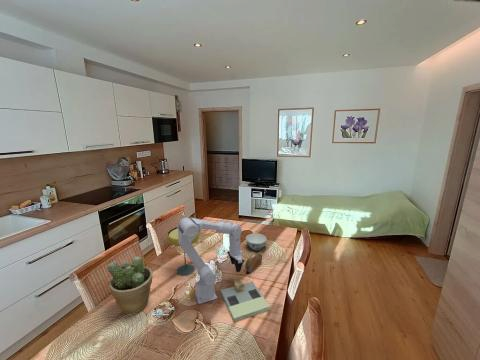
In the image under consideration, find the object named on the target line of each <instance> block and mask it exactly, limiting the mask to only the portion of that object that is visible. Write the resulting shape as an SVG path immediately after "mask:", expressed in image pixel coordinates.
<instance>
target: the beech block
mask: <svg viewBox="0 0 480 360" xmlns="http://www.w3.org/2000/svg"><path fill="white" fill-rule="evenodd" d="M233 282H234V285H233V287H234V288H235V290H236V292H237V293H238V292H242V291H244V284H245V282H244V281H243V280H242V279H237V280H234V281H233Z"/></svg>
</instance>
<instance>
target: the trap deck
mask: <svg viewBox="0 0 480 360" xmlns="http://www.w3.org/2000/svg"><path fill="white" fill-rule="evenodd" d="M220 294H221V297H222V299H223V301H224V303H225V306H226V307H227V309H228V312H229V314H230V317H231V318H232V321H233V323H236V322H239V321H242V320H244V319H248V318H251V317H254V316H257V315H260V314H262V313H265V312H268V311H270V310H271V306H270V304H269V303H268V301H267V300H266V298H264V296H263V294H262V293H261V292H260V289H258V287H257V286H256V284H255V283H254V281H253V280H252V281H249V282H244V291H242V292H238V293H237V292H236V290H235V288H234V286H232V287H231V286H230V287H227V288H224V289H220Z"/></svg>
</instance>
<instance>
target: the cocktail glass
mask: <svg viewBox="0 0 480 360" xmlns="http://www.w3.org/2000/svg"><path fill="white" fill-rule="evenodd" d="M177 227H178V226H176V227H174V228H172V229H170V230H169V231H167V236H166V237H167V238H166V239H167V242H168V243H169V244H170V245H172V246H174V247H181V246H180V245H179V243H178V228H177ZM199 238H200V233H199V232H198V233H197V235H196V236H195V238H194V239H193V240H192V242H191V244H192V245H193V244H194V243H196V242H197V241H198V240H199ZM183 252H184V251H183ZM183 256H184V264H183V265H180V266H179V267H177V269H176V274H177V275H178V276H180V277H181V276H183V277H184V276H189V275H191V274H193V273H194V272H195V271H196V267H195V266H194V264H189V263H188V264H187V260H186V258H187V257H186V253H185V252H184V253H183Z"/></svg>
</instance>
